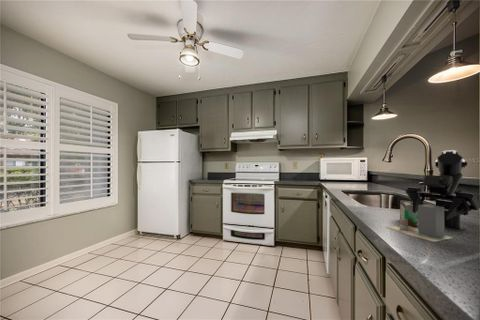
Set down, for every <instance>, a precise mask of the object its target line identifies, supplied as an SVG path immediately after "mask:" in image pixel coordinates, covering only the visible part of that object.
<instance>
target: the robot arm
mask: <svg viewBox="0 0 480 320" xmlns="http://www.w3.org/2000/svg"><path fill="white" fill-rule="evenodd" d="M467 166H468V162H467V161H466V160H465V159H464V157H463V156H462V155H460V154H459V153H458V150H455V149H452V150H450V149H449V150H442V151H441V154H440V155H438V157H437V158H436V159H435V169H438V172H439V175H431V174H429V175H428V174H426V175H424V177H423V181H422V184H423V185H425V186H426V189H427V191H423V189H421V187H415V186H414V187H413V186H408V187H407V188H406V189H405V190H404V191H405V193H406V195H407V196H408V197H409V199H410V200H411V201H412V202H413V213H416V212H417V211H418V205H424V201H425V200H426V199H432V200H433V199H434V200H435V206H441V207H444V228H449V229H454V230H459V231H462V230H466V227H464V226H463V227H462V219H461V218H462V216H468V215H469V212H471V211H478V210H479V208H480V201H479V200H478V197H477V196H476V195H475V194H474V193H473V192H464V191H462V190H461V189H458V186H459V183H460V182H461V180H462V178H463V173H462V170H463V169H465V168H466V167H467Z"/></svg>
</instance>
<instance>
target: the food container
mask: <svg viewBox="0 0 480 320" xmlns="http://www.w3.org/2000/svg"><path fill="white" fill-rule="evenodd" d="M399 205H400V206H399V207H400V208H399V219H400V218H404V219H408V226H411V227H418V211H417V212H416V213H413V201H409V200H403V199H402V200H400V202H399Z"/></svg>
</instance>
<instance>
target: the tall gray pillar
mask: <svg viewBox="0 0 480 320" xmlns="http://www.w3.org/2000/svg"><path fill="white" fill-rule="evenodd" d="M417 228H418V233H420V234H424V235H427V236H431V237H435V238H438V237H442V236H446V235H445V227H444V207H441V206H436V205H435V204H434V205H433V204H429V203H428V204H422V205H418V225H417Z"/></svg>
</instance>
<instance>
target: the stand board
mask: <svg viewBox="0 0 480 320" xmlns="http://www.w3.org/2000/svg"><path fill="white" fill-rule="evenodd" d="M386 229H389V230H392V231H396V232H399V233H402V234H406V235H409V236H413V237H416V238H419V239H423V240H426V241H429V242H432V243H434V242H439V241H444V240H445V241H446V240H450V239H453V238H454V237H453V236H449V235H445V236H442V237H438V238H435V237H431V236H427V235H424V234H420V233H418V227H416V226H408V219H404V218H400V217H399V225H394V226H388V227H386Z"/></svg>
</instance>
